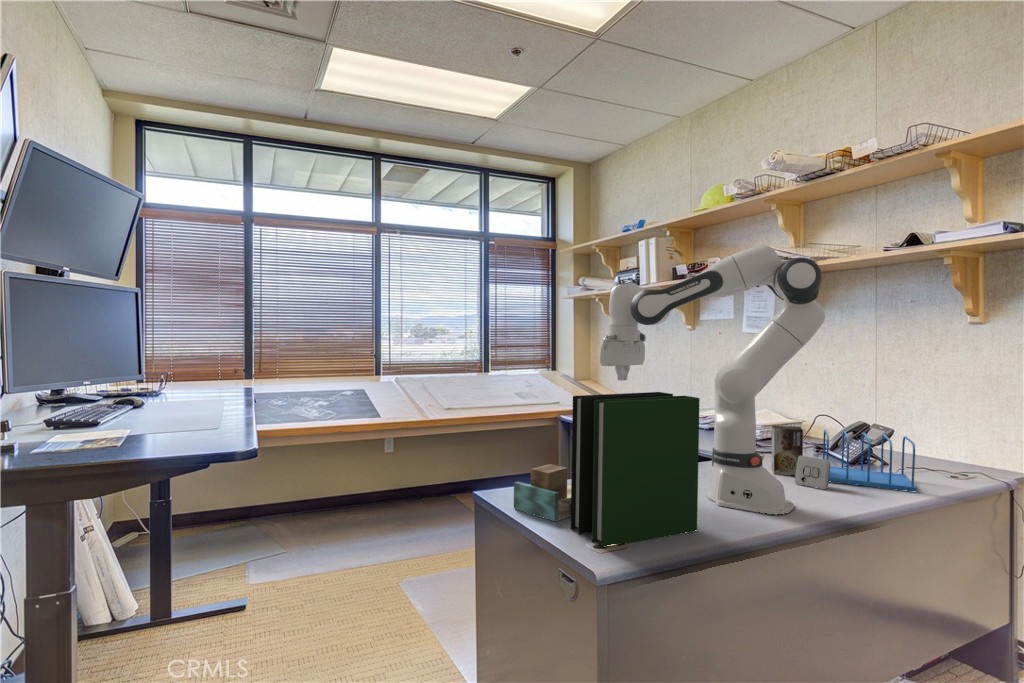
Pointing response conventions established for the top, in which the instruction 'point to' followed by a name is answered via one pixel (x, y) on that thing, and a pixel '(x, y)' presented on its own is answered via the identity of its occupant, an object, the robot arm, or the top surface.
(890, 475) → the file sorter
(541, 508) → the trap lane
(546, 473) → the walnut block
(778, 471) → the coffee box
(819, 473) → the electrical switch
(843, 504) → the top surface
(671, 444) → the binders
